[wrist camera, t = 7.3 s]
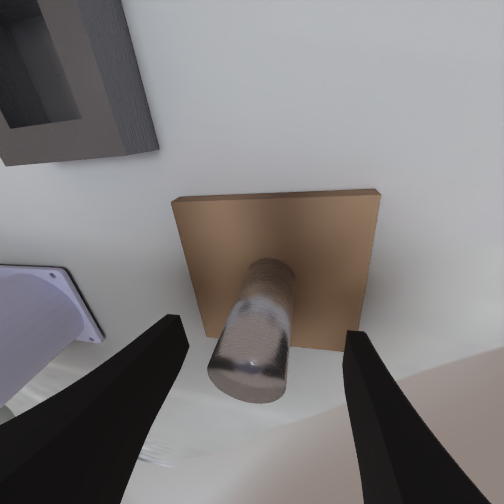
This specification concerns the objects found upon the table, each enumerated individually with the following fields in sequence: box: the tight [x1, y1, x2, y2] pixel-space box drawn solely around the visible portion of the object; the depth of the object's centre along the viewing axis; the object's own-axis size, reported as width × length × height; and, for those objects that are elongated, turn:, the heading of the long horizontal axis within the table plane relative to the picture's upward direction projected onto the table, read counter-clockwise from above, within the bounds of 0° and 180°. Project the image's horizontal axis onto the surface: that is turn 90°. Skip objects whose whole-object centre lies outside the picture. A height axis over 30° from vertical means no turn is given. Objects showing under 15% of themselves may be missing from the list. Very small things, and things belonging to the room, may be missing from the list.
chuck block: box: [0, 0, 159, 166], centre depth 10 cm, size 7×7×2 cm
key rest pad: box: [171, 189, 381, 352], centre depth 14 cm, size 10×10×1 cm
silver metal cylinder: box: [207, 258, 295, 403], centre depth 11 cm, size 3×3×6 cm
